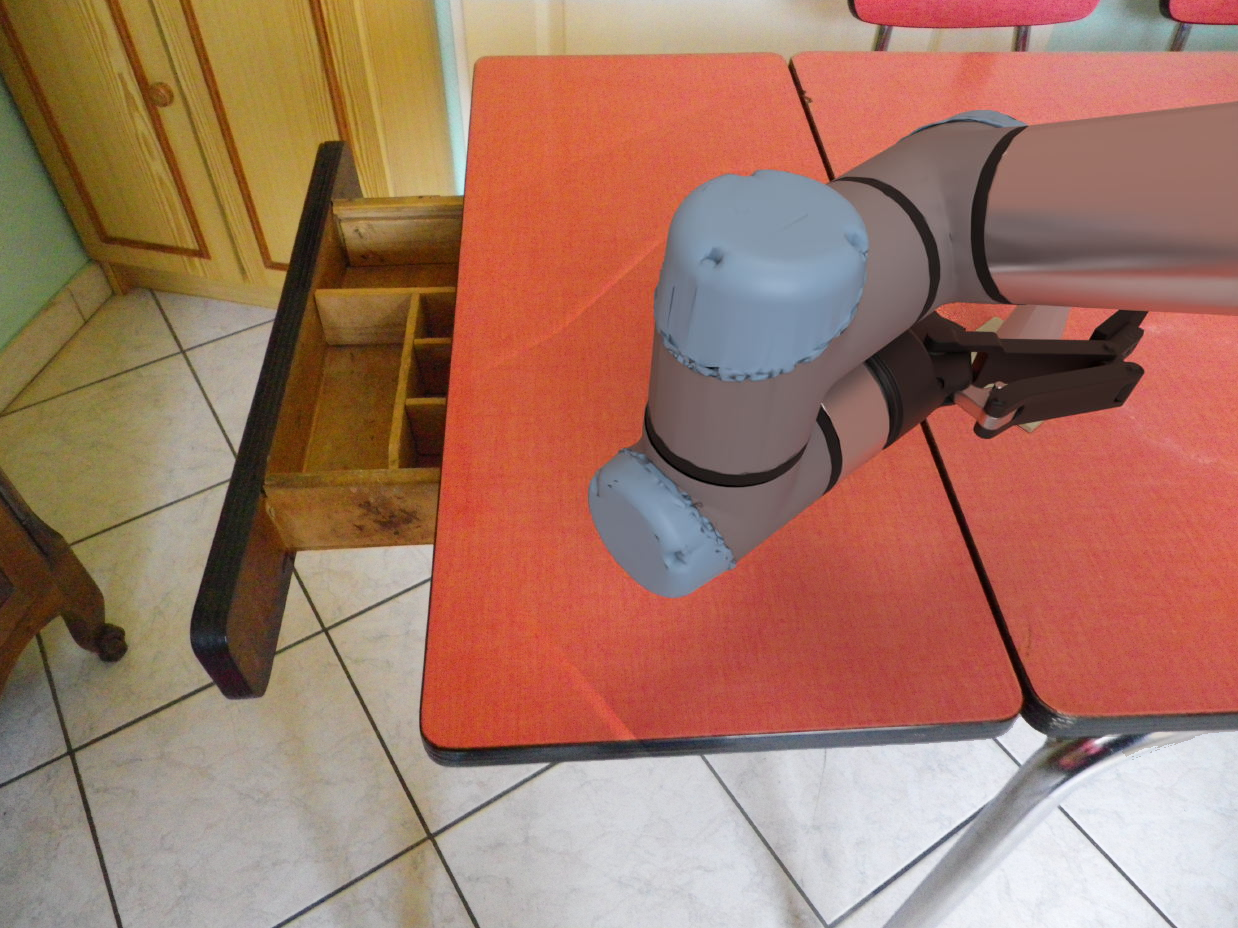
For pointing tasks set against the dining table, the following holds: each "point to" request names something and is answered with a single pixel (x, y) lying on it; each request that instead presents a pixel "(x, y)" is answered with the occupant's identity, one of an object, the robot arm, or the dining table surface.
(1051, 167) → the robot arm
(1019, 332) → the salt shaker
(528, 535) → the dining table surface
